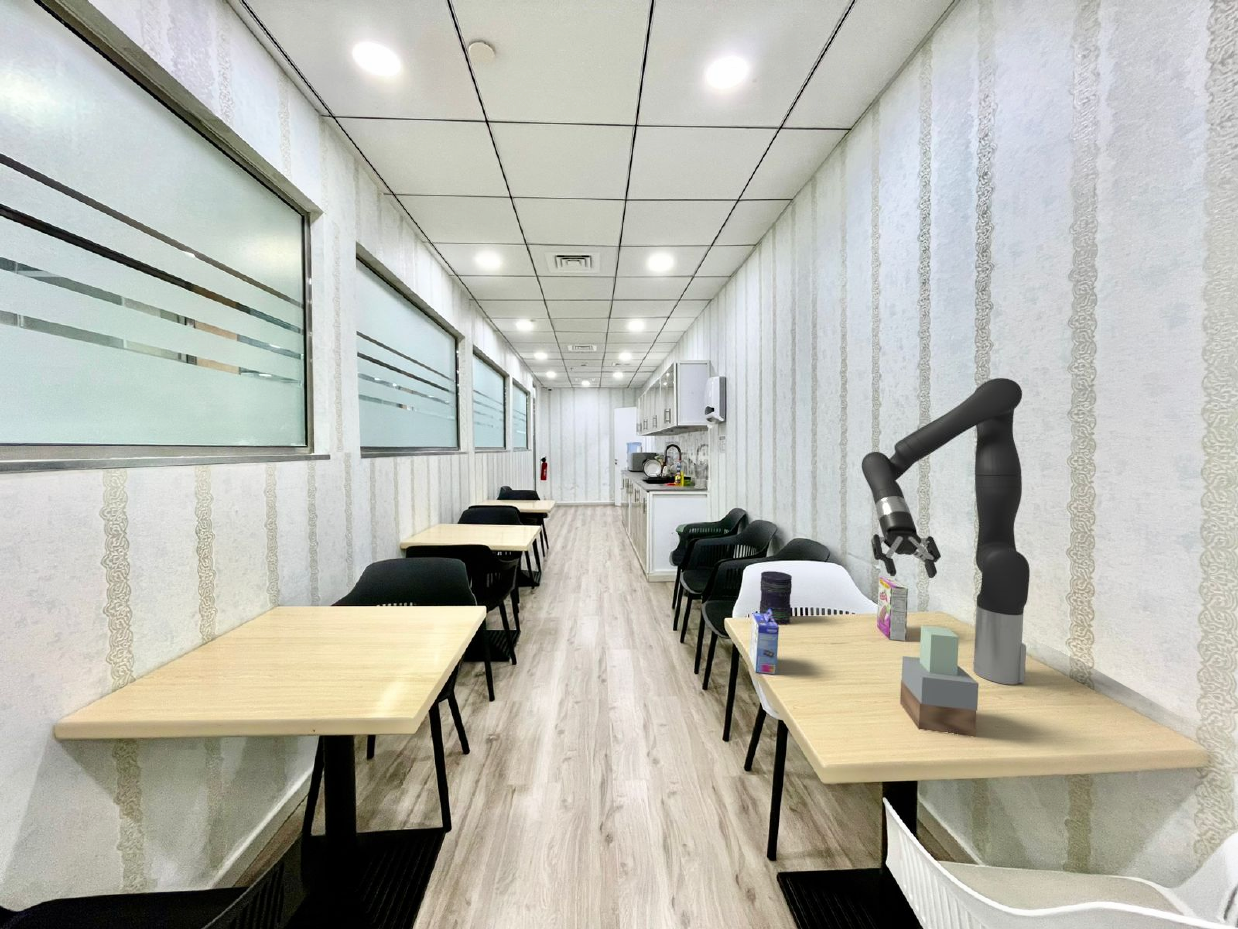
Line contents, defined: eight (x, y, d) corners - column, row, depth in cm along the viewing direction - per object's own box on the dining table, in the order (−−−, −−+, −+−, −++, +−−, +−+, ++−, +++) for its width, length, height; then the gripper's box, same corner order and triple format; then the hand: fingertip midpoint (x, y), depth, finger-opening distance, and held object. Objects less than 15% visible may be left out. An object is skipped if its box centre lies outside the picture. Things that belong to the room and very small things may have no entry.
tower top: (951, 686, 102) (952, 661, 102) (977, 710, 92) (978, 683, 92) (901, 680, 104) (902, 656, 104) (921, 704, 94) (922, 677, 94)
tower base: (950, 711, 102) (951, 686, 102) (974, 738, 92) (976, 710, 92) (899, 704, 104) (901, 680, 104) (918, 730, 94) (919, 703, 94)
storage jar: (764, 612, 162) (766, 569, 161) (794, 618, 156) (795, 574, 156) (754, 620, 154) (756, 575, 153) (785, 627, 148) (787, 581, 148)
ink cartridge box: (778, 675, 116) (780, 617, 115) (755, 673, 116) (757, 616, 116) (769, 658, 126) (771, 604, 125) (748, 656, 126) (750, 603, 126)
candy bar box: (875, 626, 151) (877, 576, 150) (892, 628, 150) (894, 577, 149) (888, 640, 140) (890, 586, 139) (906, 642, 139) (909, 587, 138)
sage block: (945, 664, 100) (947, 628, 99) (957, 675, 95) (958, 637, 95) (919, 662, 101) (921, 625, 101) (929, 672, 96) (931, 634, 96)
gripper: (870, 509, 119) (886, 567, 109) (930, 510, 117) (952, 570, 107) (861, 524, 125) (876, 581, 115) (918, 526, 123) (938, 584, 112)
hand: (913, 575), depth 111 cm, fingers open, 8 cm apart
